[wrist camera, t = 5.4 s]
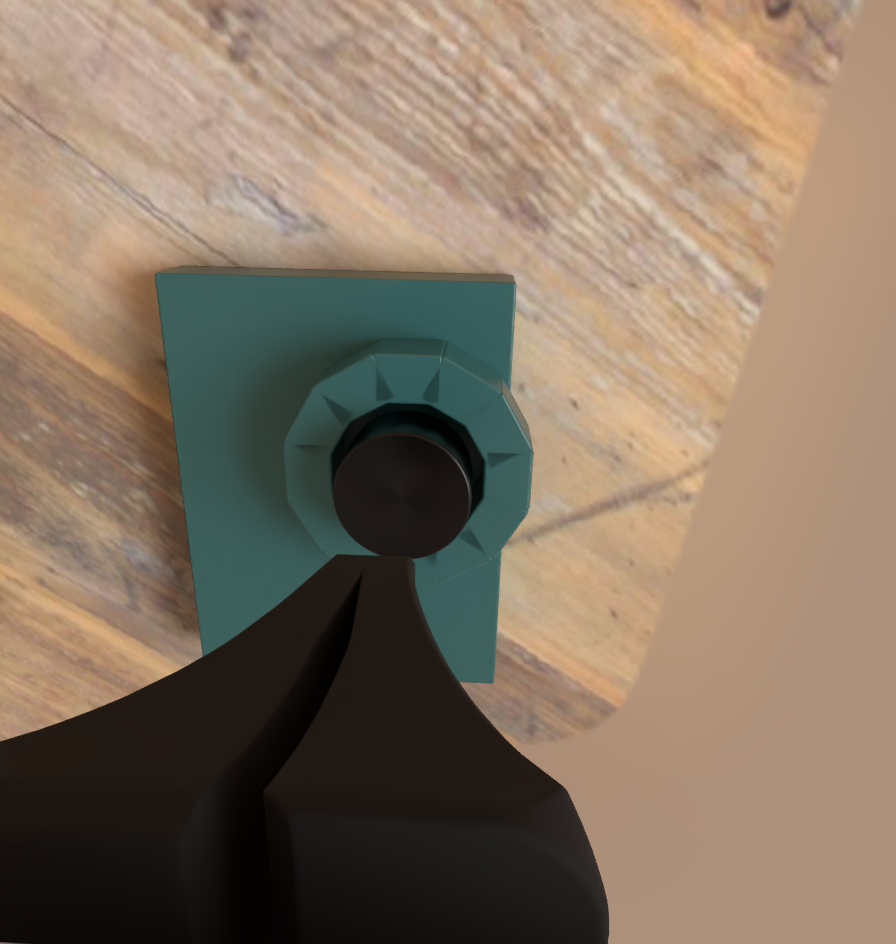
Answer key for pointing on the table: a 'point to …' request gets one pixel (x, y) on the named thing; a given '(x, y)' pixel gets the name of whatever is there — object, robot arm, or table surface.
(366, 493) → the button
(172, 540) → the table surface
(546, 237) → the table surface
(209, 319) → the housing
